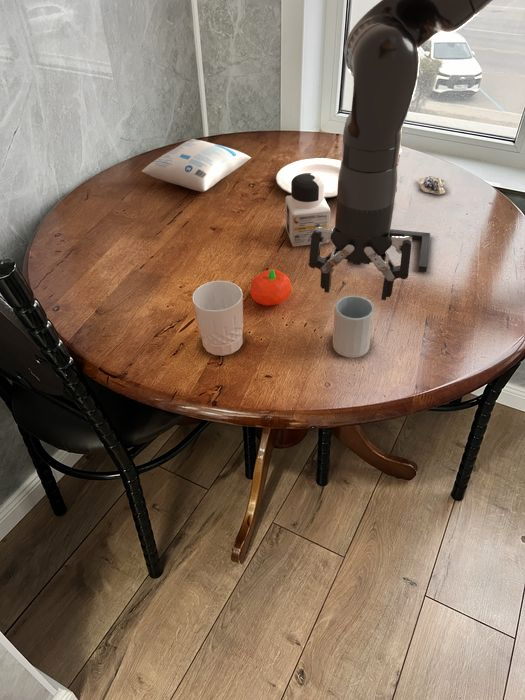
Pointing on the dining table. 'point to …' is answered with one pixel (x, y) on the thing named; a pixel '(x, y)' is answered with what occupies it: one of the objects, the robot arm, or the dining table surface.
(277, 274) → the pumpkin
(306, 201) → the container
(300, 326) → the dining table surface
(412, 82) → the robot arm
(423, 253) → the frame
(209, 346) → the white cup
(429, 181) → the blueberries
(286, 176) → the plate
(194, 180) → the pouch
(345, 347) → the pale grey cup
